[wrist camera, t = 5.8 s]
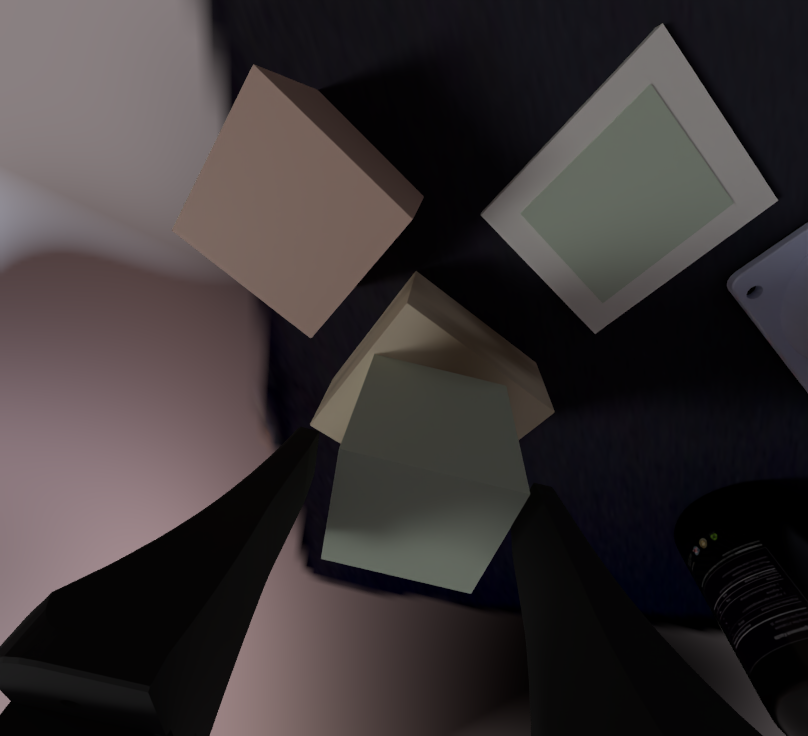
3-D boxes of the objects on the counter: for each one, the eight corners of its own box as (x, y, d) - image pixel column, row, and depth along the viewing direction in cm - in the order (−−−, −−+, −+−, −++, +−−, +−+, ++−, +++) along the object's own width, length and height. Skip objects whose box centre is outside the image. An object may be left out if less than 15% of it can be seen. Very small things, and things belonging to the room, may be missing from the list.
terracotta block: (424, 196, 14) (412, 219, 10) (347, 288, 16) (310, 338, 12) (318, 90, 13) (253, 64, 9) (250, 206, 15) (171, 230, 11)
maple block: (534, 359, 18) (554, 412, 14) (440, 443, 21) (438, 502, 17) (416, 268, 16) (406, 303, 12) (334, 375, 19) (309, 424, 16)
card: (769, 198, 13) (780, 200, 13) (592, 330, 16) (595, 335, 16) (656, 26, 11) (664, 22, 11) (480, 213, 14) (480, 216, 14)
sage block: (506, 385, 14) (529, 494, 9) (466, 476, 16) (471, 593, 12) (374, 353, 14) (339, 448, 9) (355, 450, 16) (321, 558, 12)
